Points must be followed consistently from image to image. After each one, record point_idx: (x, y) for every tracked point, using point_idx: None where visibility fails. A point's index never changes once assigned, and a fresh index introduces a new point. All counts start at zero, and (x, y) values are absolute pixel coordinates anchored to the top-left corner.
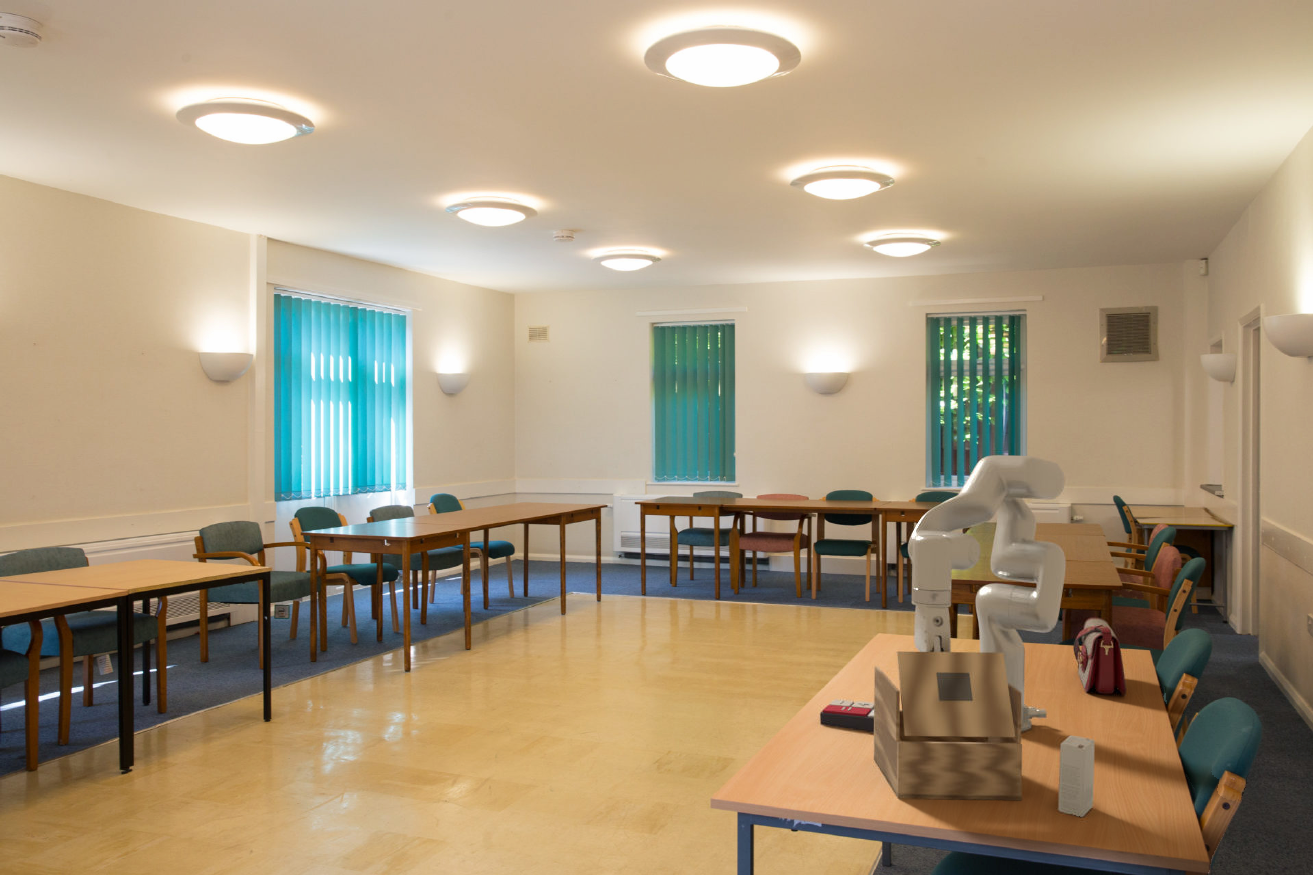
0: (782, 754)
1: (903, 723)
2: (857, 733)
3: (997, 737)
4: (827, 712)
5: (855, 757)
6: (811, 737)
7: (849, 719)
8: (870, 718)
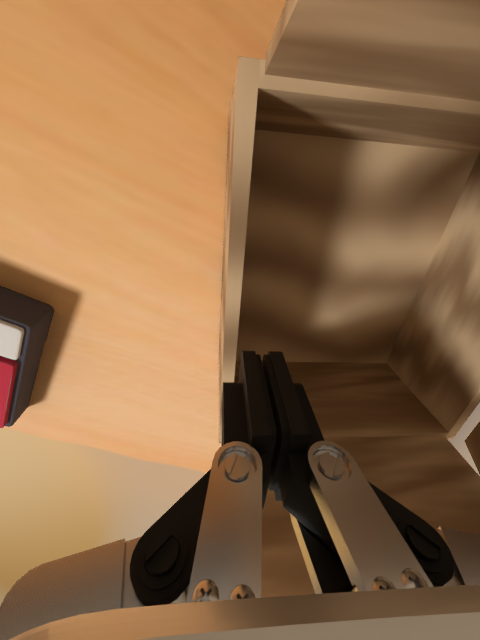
0: (200, 460)
1: (476, 465)
2: (66, 360)
3: (435, 122)
4: (7, 418)
5: (209, 385)
6: (113, 426)
7: (25, 382)
8: (27, 354)
